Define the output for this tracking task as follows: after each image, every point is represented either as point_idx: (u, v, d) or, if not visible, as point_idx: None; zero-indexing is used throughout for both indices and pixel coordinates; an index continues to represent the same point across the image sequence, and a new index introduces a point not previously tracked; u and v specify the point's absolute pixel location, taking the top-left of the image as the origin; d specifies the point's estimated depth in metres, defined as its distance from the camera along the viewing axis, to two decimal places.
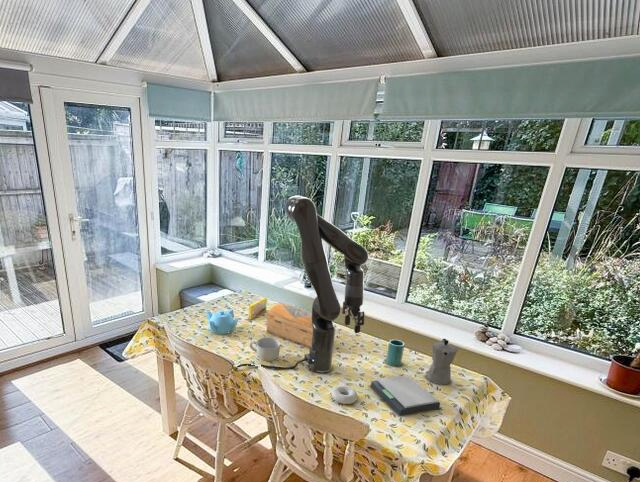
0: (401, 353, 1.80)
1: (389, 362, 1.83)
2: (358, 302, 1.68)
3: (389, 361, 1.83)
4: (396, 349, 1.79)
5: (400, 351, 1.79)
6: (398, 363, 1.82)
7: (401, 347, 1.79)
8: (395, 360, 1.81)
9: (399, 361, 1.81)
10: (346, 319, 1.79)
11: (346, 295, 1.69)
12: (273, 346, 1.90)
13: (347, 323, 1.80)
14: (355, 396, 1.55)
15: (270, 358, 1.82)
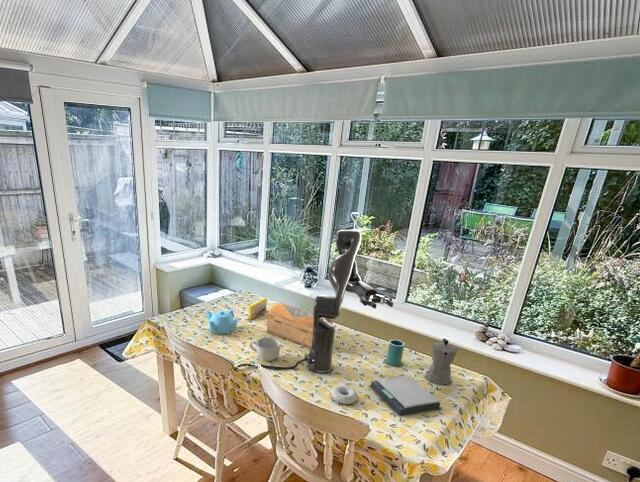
0: (401, 353, 1.80)
1: (389, 362, 1.83)
2: None
3: (389, 361, 1.83)
4: (396, 349, 1.79)
5: (400, 351, 1.79)
6: (398, 363, 1.82)
7: (401, 347, 1.79)
8: (395, 360, 1.81)
9: (399, 361, 1.81)
10: None
11: (368, 286, 2.01)
12: (273, 346, 1.90)
13: None
14: (355, 396, 1.55)
15: (270, 358, 1.82)
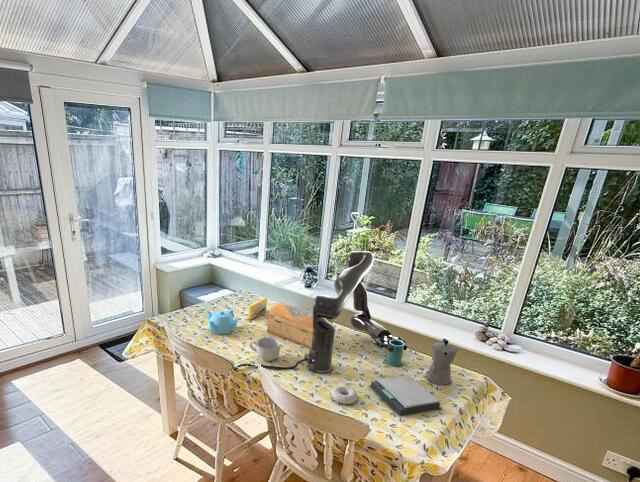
0: (401, 353, 1.80)
1: (389, 362, 1.83)
2: None
3: (389, 361, 1.83)
4: (396, 349, 1.79)
5: (400, 351, 1.79)
6: (398, 363, 1.82)
7: (401, 347, 1.79)
8: (395, 360, 1.81)
9: (399, 361, 1.81)
10: None
11: (380, 326, 1.93)
12: (273, 346, 1.90)
13: None
14: (355, 396, 1.55)
15: (270, 358, 1.82)
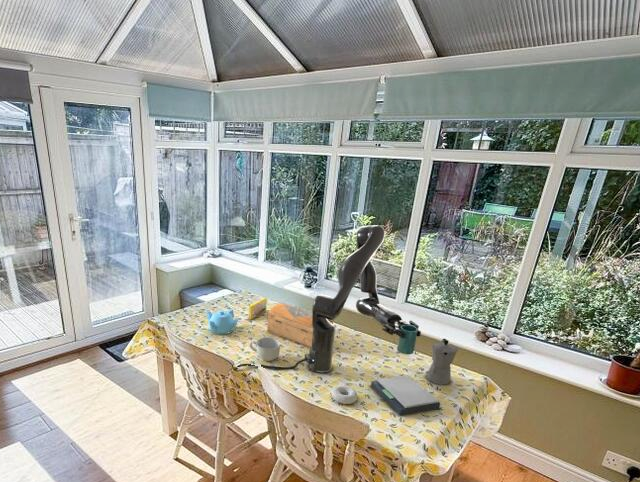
0: (414, 340, 1.61)
1: (400, 350, 1.63)
2: None
3: (400, 349, 1.63)
4: (408, 335, 1.60)
5: (413, 337, 1.60)
6: (410, 351, 1.62)
7: (414, 333, 1.59)
8: (407, 347, 1.62)
9: (412, 349, 1.62)
10: None
11: (390, 311, 1.74)
12: (273, 346, 1.90)
13: None
14: (355, 396, 1.55)
15: (270, 358, 1.82)
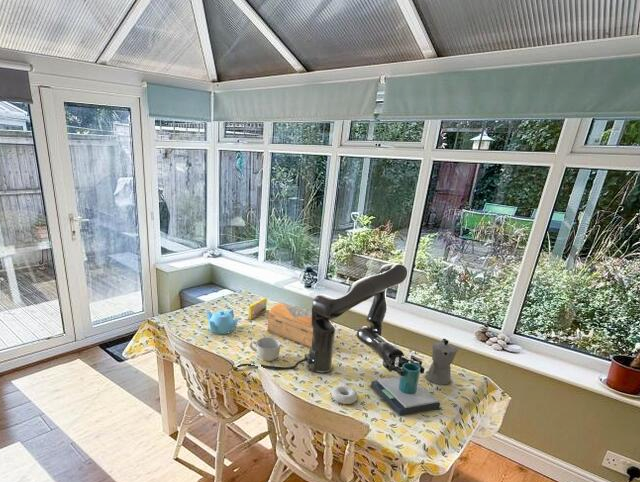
0: (417, 379, 1.54)
1: (402, 389, 1.57)
2: None
3: (402, 388, 1.56)
4: (410, 375, 1.53)
5: (415, 377, 1.53)
6: (412, 391, 1.55)
7: (417, 372, 1.52)
8: (409, 387, 1.55)
9: (414, 388, 1.55)
10: None
11: (391, 345, 1.67)
12: (273, 346, 1.90)
13: None
14: (355, 396, 1.55)
15: (270, 358, 1.82)
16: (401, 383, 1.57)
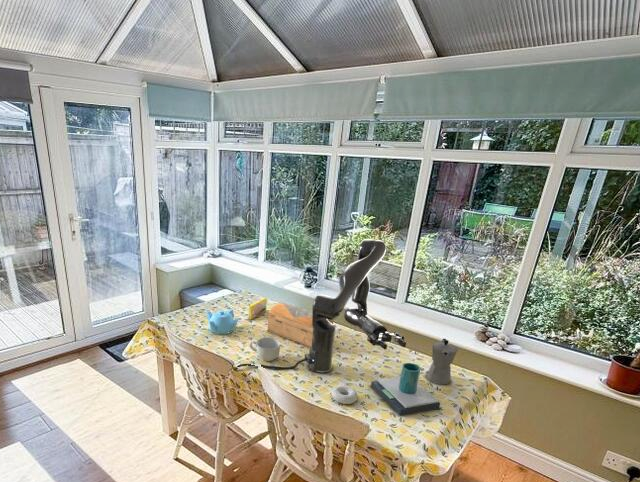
0: (417, 379, 1.54)
1: (402, 389, 1.57)
2: None
3: (402, 388, 1.56)
4: (410, 375, 1.53)
5: (415, 377, 1.53)
6: (412, 391, 1.55)
7: (417, 372, 1.52)
8: (409, 387, 1.55)
9: (414, 388, 1.55)
10: None
11: (376, 322, 1.76)
12: (273, 346, 1.90)
13: None
14: (355, 396, 1.55)
15: (270, 358, 1.82)
16: (401, 383, 1.57)
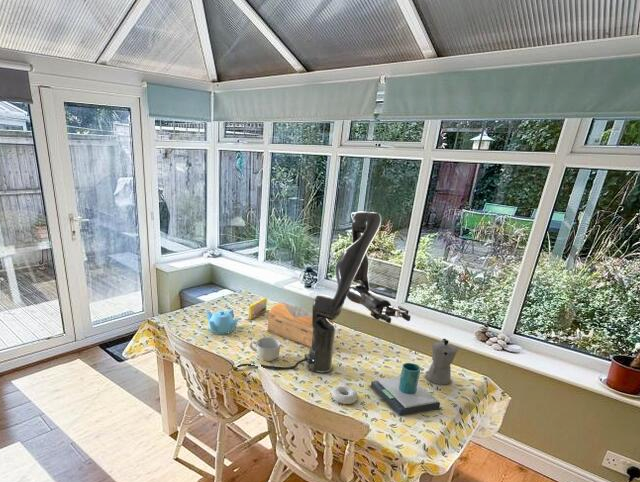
0: (417, 379, 1.54)
1: (402, 389, 1.57)
2: None
3: (402, 388, 1.56)
4: (410, 375, 1.53)
5: (415, 377, 1.53)
6: (412, 391, 1.55)
7: (417, 372, 1.52)
8: (409, 387, 1.55)
9: (414, 388, 1.55)
10: None
11: (379, 297, 1.72)
12: (273, 346, 1.90)
13: None
14: (355, 396, 1.55)
15: (270, 358, 1.82)
16: (401, 383, 1.57)
